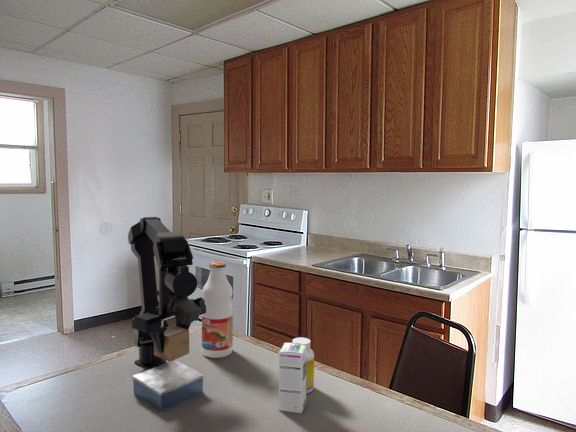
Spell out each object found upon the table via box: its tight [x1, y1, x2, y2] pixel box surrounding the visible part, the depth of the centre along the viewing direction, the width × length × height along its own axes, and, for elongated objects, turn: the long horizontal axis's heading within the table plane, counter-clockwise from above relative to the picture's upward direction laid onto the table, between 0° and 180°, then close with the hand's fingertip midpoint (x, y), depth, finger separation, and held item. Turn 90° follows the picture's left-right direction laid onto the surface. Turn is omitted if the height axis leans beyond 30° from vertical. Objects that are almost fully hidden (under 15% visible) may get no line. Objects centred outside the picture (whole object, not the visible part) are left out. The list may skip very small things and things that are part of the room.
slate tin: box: [131, 359, 205, 413], centre depth 106 cm, size 12×12×5 cm
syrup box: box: [278, 342, 307, 414], centre depth 101 cm, size 6×6×14 cm
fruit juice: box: [201, 261, 234, 359], centre depth 130 cm, size 9×9×28 cm
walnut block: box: [154, 324, 190, 362], centre depth 105 cm, size 6×6×6 cm
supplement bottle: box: [291, 336, 315, 395], centre depth 109 cm, size 7×7×13 cm
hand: (171, 348), depth 105 cm, fingers closed on walnut block, 6 cm apart
